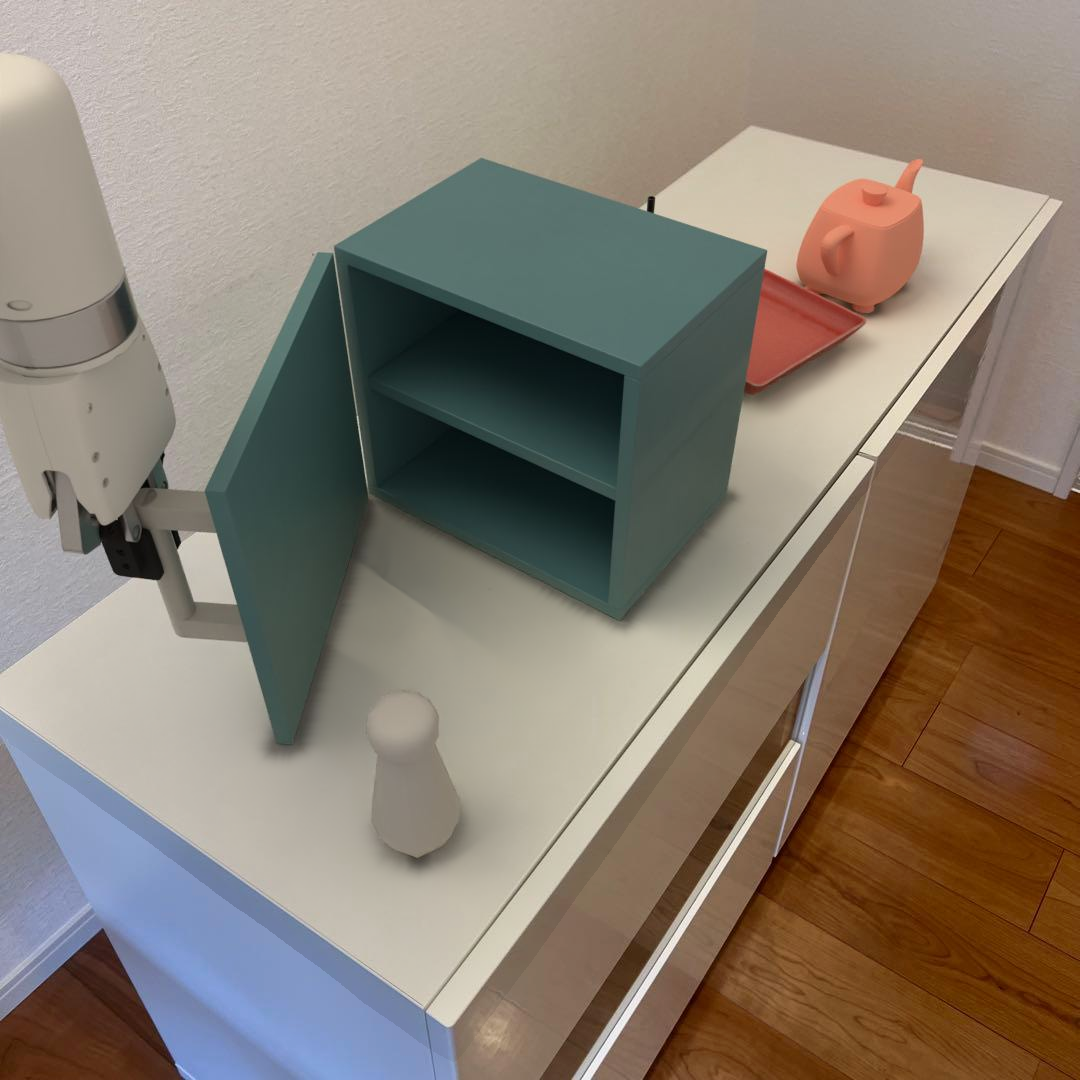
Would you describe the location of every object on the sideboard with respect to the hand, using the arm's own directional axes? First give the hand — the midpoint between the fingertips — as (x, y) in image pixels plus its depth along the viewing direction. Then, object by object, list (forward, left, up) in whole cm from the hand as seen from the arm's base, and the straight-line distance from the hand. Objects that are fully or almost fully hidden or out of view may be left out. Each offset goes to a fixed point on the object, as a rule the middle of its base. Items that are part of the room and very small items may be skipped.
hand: (148, 558), depth 69 cm
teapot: (+82, +21, -15) cm, 86 cm away
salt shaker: (+10, -18, -15) cm, 25 cm away
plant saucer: (+64, +18, -15) cm, 68 cm away
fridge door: (+9, +6, -15) cm, 18 cm away
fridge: (+34, +7, -15) cm, 38 cm away
